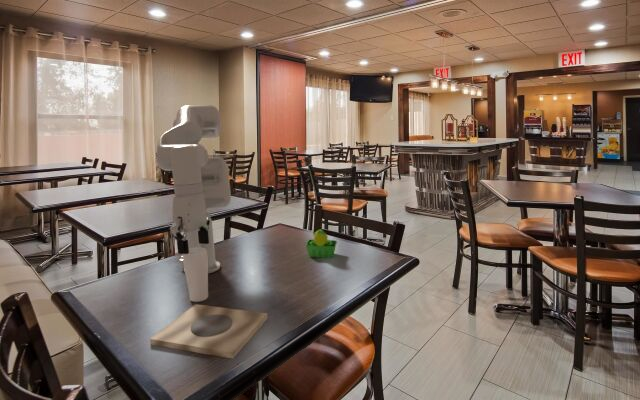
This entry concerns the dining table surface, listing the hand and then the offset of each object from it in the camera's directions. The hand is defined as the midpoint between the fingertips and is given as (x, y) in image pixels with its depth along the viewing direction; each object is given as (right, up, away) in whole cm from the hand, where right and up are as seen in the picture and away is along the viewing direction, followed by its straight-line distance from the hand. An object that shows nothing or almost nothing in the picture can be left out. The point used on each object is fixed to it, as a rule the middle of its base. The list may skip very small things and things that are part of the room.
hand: (194, 248), depth 109 cm
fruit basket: (+37, -8, +38) cm, 53 cm away
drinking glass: (0, -16, +4) cm, 16 cm away
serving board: (+9, -19, -14) cm, 25 cm away
